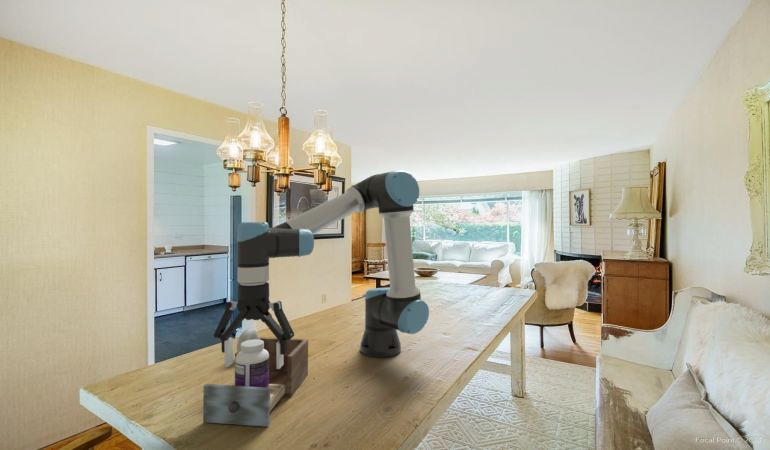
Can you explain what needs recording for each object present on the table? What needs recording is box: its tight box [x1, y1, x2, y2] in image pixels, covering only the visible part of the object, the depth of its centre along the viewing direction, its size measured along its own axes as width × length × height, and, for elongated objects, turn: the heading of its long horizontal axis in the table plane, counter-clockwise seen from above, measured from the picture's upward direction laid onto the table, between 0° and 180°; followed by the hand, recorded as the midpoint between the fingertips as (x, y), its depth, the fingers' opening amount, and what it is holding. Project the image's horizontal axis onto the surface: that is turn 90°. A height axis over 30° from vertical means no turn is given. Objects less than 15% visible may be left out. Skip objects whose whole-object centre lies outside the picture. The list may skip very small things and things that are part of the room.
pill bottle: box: [234, 339, 269, 388], centre depth 88 cm, size 8×8×14 cm
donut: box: [236, 327, 259, 353], centre depth 121 cm, size 10×3×10 cm, turn 168°
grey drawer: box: [202, 383, 285, 427], centre depth 86 cm, size 16×15×8 cm
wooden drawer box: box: [234, 336, 309, 398], centre depth 101 cm, size 16×14×11 cm
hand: (254, 365), depth 88 cm, fingers open, 13 cm apart
